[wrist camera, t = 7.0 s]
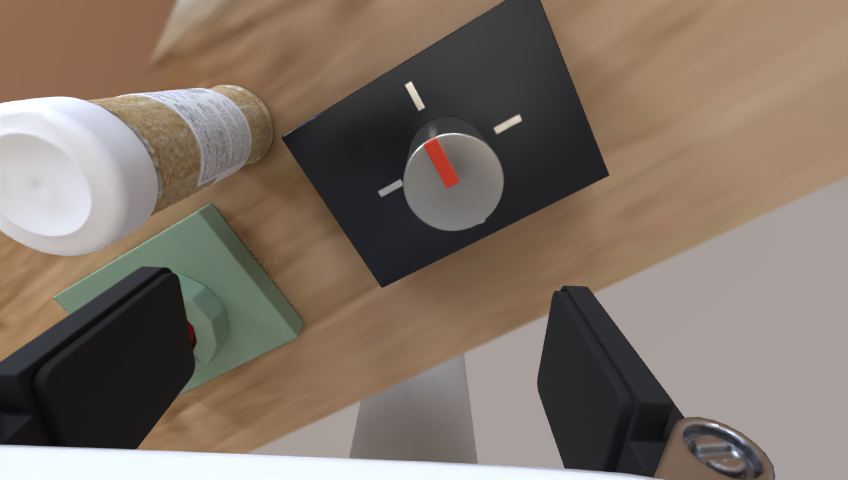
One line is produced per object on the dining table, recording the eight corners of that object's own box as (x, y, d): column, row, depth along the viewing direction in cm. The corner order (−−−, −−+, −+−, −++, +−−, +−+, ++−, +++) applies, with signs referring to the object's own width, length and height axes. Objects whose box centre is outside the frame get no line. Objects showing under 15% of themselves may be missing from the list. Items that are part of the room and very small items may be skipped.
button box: (174, 388, 32) (145, 424, 28) (72, 285, 28) (27, 313, 25) (305, 322, 29) (289, 354, 26) (211, 202, 26) (180, 221, 23)
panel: (386, 266, 28) (381, 289, 25) (297, 129, 24) (279, 137, 21) (589, 163, 25) (611, 176, 22) (520, -7, 22) (534, -18, 19)
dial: (499, 171, 22) (522, 205, 17) (432, 207, 23) (433, 250, 17) (464, 101, 21) (477, 113, 15) (394, 141, 21) (383, 166, 16)
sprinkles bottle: (200, 159, 25) (-27, 251, 12) (193, 77, 23) (-77, 90, 11) (277, 169, 25) (130, 269, 13) (277, 88, 23) (106, 113, 11)
